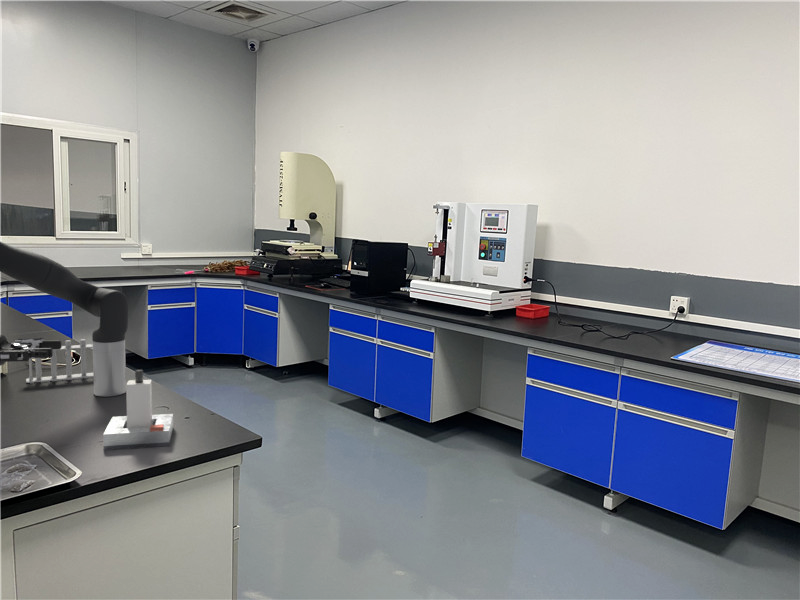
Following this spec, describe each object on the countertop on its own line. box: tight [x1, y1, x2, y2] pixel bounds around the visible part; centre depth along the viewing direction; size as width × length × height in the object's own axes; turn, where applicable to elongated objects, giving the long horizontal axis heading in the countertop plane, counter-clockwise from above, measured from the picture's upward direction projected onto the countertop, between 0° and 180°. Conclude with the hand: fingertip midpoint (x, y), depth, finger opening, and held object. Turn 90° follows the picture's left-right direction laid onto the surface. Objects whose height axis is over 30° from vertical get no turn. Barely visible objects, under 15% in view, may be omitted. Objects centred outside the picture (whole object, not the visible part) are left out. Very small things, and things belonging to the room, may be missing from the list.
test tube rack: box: [25, 338, 93, 384], centre depth 202 cm, size 25×4×13 cm, turn 122°
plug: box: [125, 369, 153, 428], centre depth 152 cm, size 4×6×17 cm
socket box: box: [102, 413, 174, 451], centre depth 153 cm, size 13×15×5 cm
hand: (56, 348), depth 149 cm, fingers open, 8 cm apart
